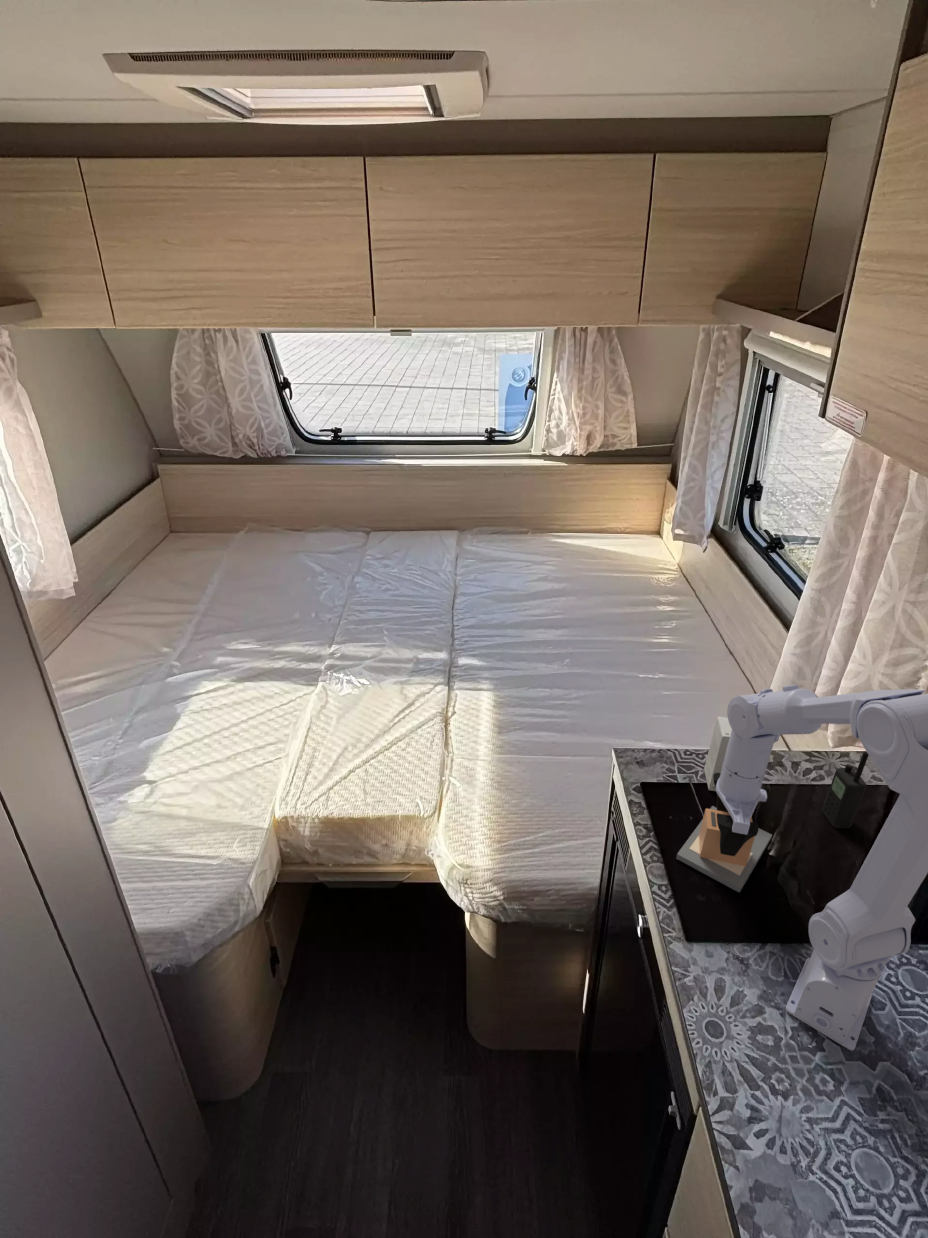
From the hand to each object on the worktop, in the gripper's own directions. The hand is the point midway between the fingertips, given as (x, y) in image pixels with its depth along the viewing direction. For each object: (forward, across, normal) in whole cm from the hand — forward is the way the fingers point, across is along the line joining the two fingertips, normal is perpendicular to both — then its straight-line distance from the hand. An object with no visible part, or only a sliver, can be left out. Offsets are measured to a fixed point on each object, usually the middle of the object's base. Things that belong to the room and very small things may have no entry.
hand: (725, 835), depth 108 cm
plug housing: (+3, 0, 0) cm, 3 cm away
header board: (+4, +2, -1) cm, 5 cm away
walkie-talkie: (+5, +14, -20) cm, 25 cm away
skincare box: (+5, +18, -1) cm, 19 cm away
